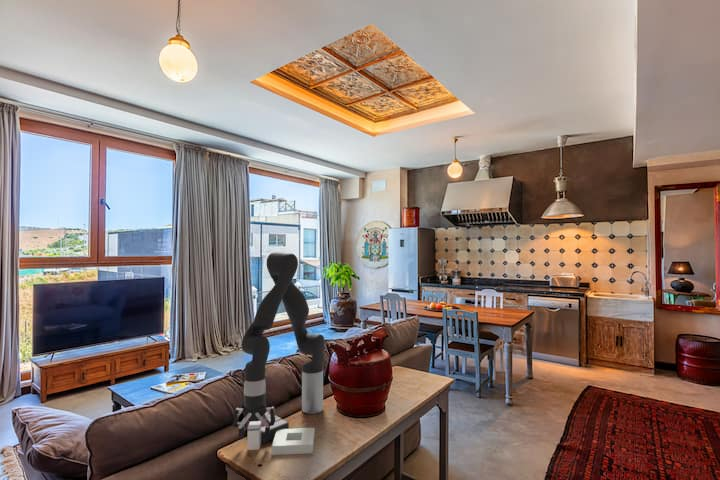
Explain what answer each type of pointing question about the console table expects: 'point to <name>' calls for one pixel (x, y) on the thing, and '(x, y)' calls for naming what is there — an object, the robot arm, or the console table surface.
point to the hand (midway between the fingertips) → (254, 437)
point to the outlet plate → (293, 441)
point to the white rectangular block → (254, 435)
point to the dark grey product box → (277, 426)
